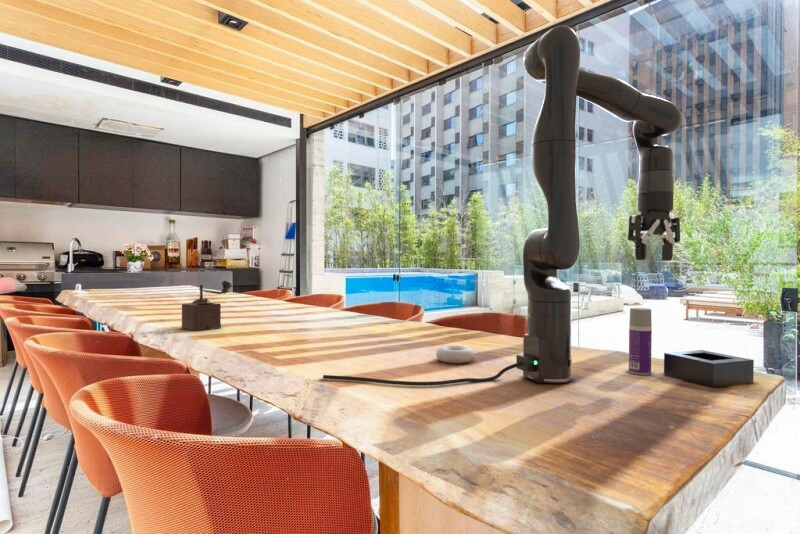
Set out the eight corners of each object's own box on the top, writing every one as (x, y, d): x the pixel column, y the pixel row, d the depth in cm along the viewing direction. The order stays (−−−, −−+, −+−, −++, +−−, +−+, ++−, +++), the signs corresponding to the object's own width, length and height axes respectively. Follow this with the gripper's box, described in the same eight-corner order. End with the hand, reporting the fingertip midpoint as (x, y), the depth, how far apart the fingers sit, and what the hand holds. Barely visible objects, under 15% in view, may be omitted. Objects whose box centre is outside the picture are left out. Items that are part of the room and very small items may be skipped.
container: (653, 375, 109) (654, 310, 109) (631, 374, 110) (632, 309, 110) (647, 371, 113) (648, 308, 113) (626, 370, 114) (627, 307, 114)
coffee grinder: (196, 331, 173) (196, 281, 173) (180, 328, 179) (180, 280, 179) (234, 326, 185) (234, 280, 185) (218, 324, 192) (218, 279, 192)
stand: (713, 387, 99) (713, 363, 99) (663, 374, 110) (663, 352, 110) (753, 382, 103) (753, 359, 103) (701, 370, 114) (701, 349, 114)
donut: (464, 367, 117) (480, 359, 126) (464, 353, 117) (480, 346, 126) (429, 362, 123) (446, 355, 131) (428, 348, 123) (446, 342, 131)
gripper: (662, 195, 119) (661, 260, 119) (620, 191, 114) (618, 259, 114) (691, 191, 112) (689, 260, 113) (647, 187, 107) (645, 259, 107)
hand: (653, 260), depth 113 cm, fingers open, 8 cm apart
